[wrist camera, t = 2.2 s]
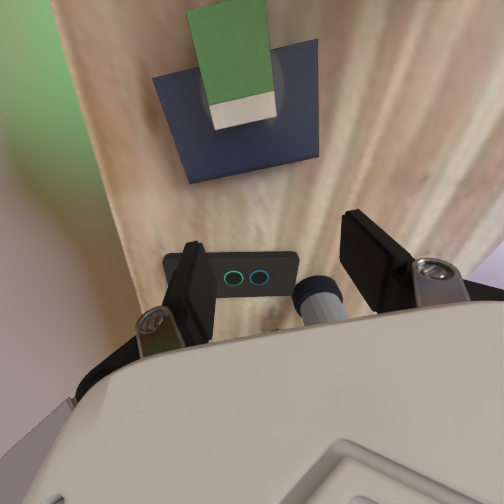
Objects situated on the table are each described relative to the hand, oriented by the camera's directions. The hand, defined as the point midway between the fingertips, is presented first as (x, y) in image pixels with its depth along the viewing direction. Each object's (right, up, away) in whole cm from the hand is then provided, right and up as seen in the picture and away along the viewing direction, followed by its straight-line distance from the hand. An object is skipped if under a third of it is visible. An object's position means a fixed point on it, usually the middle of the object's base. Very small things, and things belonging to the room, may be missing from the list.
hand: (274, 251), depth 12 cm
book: (-2, +14, +12) cm, 19 cm away
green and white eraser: (-2, +15, +6) cm, 16 cm away
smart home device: (-4, -3, +24) cm, 24 cm away
